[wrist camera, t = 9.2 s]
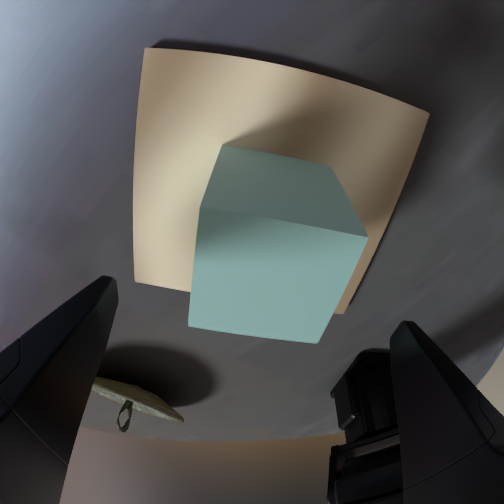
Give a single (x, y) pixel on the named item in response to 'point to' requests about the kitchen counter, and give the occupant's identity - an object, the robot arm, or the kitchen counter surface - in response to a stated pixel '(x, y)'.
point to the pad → (256, 147)
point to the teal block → (272, 247)
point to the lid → (134, 400)
